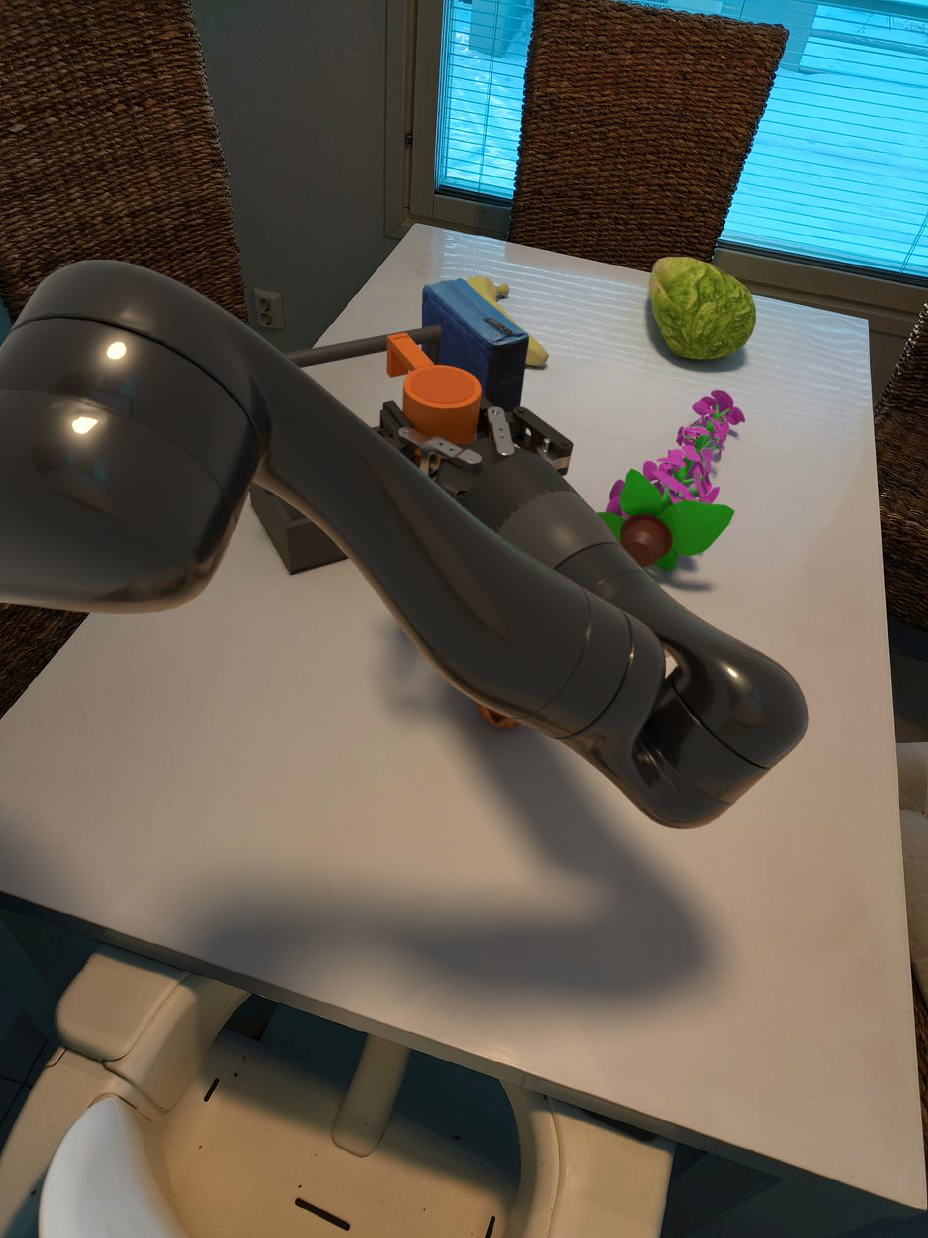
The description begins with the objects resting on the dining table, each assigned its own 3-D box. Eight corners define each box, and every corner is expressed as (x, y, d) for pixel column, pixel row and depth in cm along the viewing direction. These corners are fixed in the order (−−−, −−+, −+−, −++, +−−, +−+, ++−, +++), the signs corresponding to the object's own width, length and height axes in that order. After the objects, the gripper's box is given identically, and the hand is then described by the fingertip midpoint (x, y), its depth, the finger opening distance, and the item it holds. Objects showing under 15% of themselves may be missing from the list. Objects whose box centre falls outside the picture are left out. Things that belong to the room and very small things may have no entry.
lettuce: (719, 256, 128) (666, 202, 121) (785, 329, 111) (728, 270, 104) (659, 318, 134) (606, 269, 127) (713, 396, 116) (654, 344, 110)
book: (516, 504, 92) (544, 333, 77) (474, 518, 90) (495, 345, 75) (450, 433, 100) (464, 266, 85) (410, 444, 98) (418, 274, 83)
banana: (456, 301, 107) (475, 254, 122) (442, 341, 110) (462, 290, 126) (555, 344, 109) (562, 292, 124) (538, 382, 112) (546, 327, 127)
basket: (288, 575, 82) (272, 398, 67) (248, 504, 88) (226, 328, 74) (453, 527, 89) (470, 356, 74) (404, 464, 95) (411, 296, 81)
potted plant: (576, 610, 87) (664, 457, 112) (738, 600, 78) (795, 436, 103) (538, 504, 82) (640, 368, 106) (709, 481, 72) (777, 338, 97)
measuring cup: (482, 498, 66) (496, 397, 60) (418, 516, 64) (424, 413, 58) (423, 426, 72) (429, 327, 66) (362, 440, 70) (362, 339, 64)
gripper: (645, 468, 54) (511, 340, 64) (446, 525, 49) (333, 376, 59) (619, 555, 60) (500, 425, 69) (438, 615, 54) (335, 465, 64)
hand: (424, 403), depth 64 cm, fingers closed on measuring cup, 5 cm apart
